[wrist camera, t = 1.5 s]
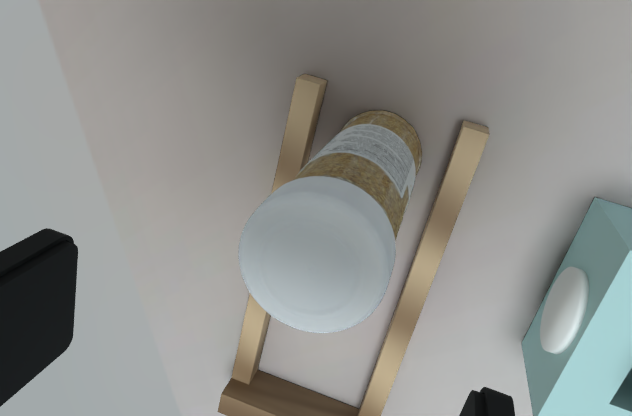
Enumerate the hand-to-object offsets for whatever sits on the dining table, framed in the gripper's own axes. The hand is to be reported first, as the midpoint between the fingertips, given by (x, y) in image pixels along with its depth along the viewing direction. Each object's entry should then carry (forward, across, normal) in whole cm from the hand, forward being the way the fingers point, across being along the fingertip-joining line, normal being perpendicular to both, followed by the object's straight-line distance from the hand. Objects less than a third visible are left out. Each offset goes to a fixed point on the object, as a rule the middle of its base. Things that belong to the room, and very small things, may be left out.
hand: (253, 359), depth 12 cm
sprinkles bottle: (+17, 0, 0) cm, 17 cm away
